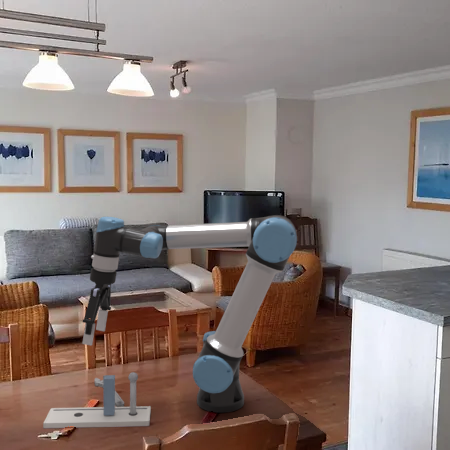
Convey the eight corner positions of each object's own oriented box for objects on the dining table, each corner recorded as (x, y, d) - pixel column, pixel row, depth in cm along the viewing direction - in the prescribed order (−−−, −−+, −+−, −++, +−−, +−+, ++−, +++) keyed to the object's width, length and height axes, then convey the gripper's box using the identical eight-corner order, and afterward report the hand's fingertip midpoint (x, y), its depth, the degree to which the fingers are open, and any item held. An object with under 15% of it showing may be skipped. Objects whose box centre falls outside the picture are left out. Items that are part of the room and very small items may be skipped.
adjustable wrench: (125, 408, 173) (125, 403, 173) (104, 411, 171) (104, 405, 171) (110, 379, 196) (110, 374, 196) (92, 381, 194) (92, 376, 194)
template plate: (150, 410, 170) (151, 366, 169) (149, 425, 161) (149, 378, 159) (51, 412, 168) (50, 367, 166) (43, 428, 158) (42, 380, 156)
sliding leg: (114, 410, 166) (114, 375, 165) (113, 415, 163) (113, 378, 162) (104, 410, 166) (104, 375, 164) (103, 415, 163) (103, 379, 162)
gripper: (103, 259, 177) (94, 322, 179) (78, 274, 152) (68, 348, 154) (126, 263, 176) (116, 327, 179) (105, 279, 152) (94, 353, 154)
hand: (94, 337), depth 167 cm, fingers open, 13 cm apart
